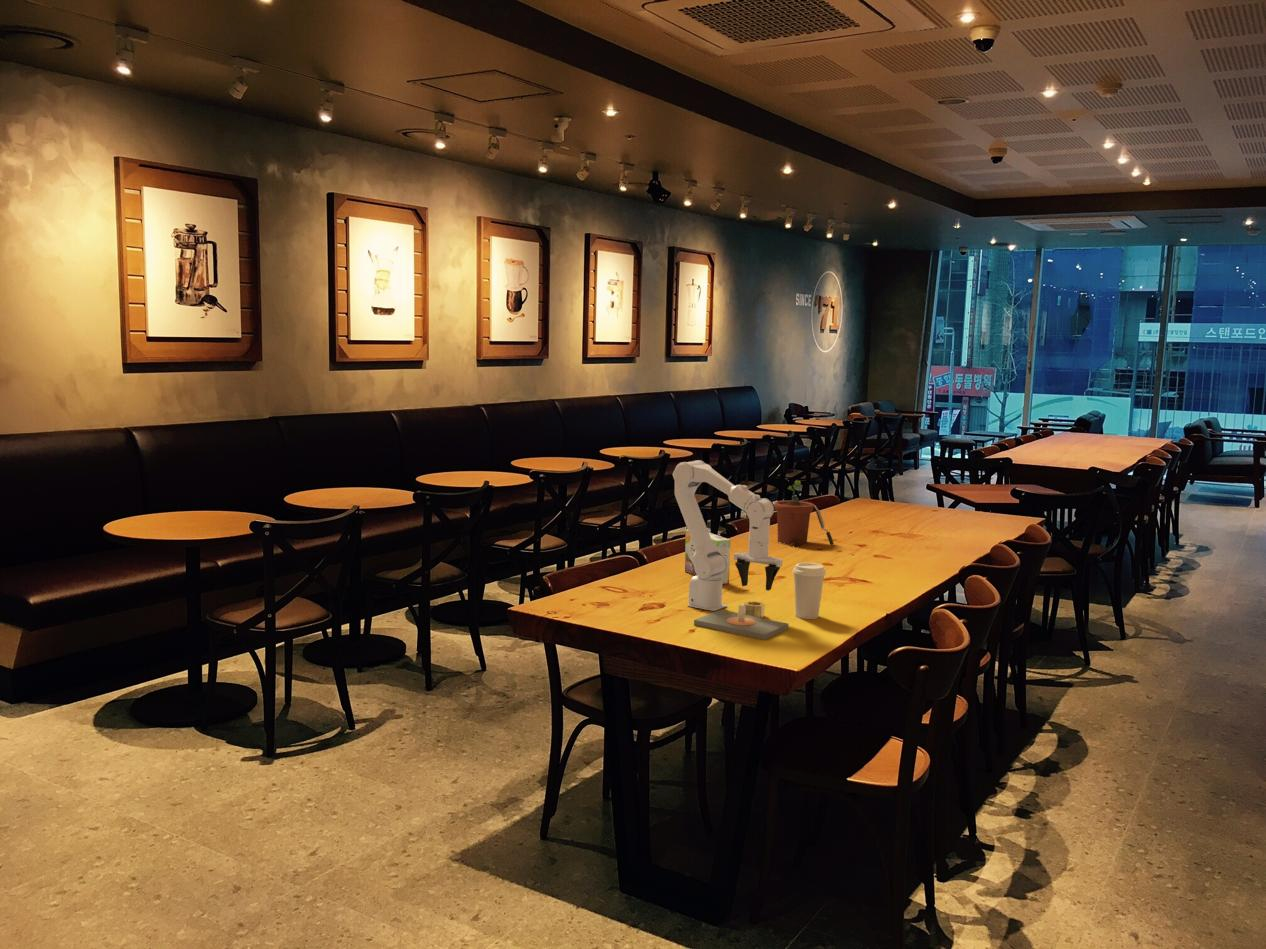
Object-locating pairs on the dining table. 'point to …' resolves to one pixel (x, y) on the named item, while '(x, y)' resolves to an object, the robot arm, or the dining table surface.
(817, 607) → the coffee cup
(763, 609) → the wooden collar
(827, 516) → the dining table surface
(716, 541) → the snack box
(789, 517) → the potted plant
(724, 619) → the post board
